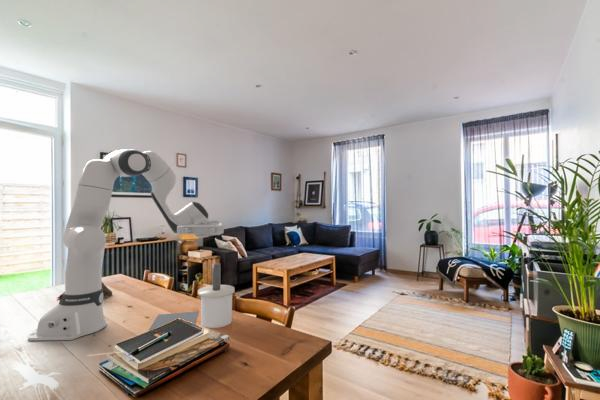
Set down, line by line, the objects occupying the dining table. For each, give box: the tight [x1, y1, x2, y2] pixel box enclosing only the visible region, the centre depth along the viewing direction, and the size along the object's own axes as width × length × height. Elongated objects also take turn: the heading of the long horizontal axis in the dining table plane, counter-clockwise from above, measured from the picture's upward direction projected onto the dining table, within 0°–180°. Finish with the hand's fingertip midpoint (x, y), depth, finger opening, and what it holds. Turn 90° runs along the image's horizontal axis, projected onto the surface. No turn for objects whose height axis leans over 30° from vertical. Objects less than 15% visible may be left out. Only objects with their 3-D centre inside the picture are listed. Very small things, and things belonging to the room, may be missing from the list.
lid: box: [197, 262, 235, 298], centre depth 117 cm, size 14×14×11 cm
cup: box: [200, 294, 233, 329], centre depth 117 cm, size 12×12×12 cm
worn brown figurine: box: [102, 281, 113, 299], centre depth 146 cm, size 12×6×18 cm, turn 153°
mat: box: [147, 310, 199, 332], centre depth 118 cm, size 16×16×1 cm
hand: (199, 230), depth 129 cm, fingers open, 8 cm apart
